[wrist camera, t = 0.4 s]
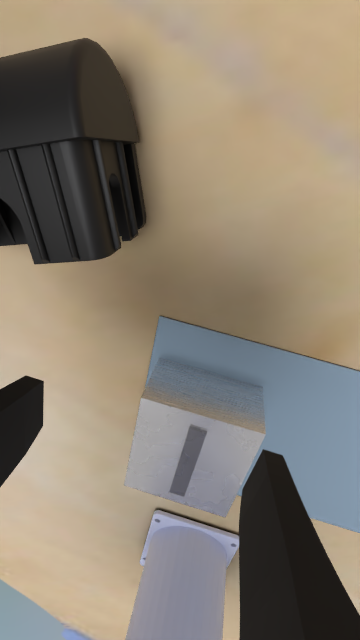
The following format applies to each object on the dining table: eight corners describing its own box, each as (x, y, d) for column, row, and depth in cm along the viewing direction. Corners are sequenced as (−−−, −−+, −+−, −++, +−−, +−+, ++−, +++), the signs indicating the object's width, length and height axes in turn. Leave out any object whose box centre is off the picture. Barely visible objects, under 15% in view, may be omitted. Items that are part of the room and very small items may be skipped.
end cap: (133, 65, 14) (53, 3, 8) (157, 226, 17) (110, 263, 12) (-50, 103, 17) (-215, 75, 11) (0, 240, 20) (-106, 277, 14)
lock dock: (398, 543, 25) (407, 566, 24) (131, 460, 27) (124, 477, 25) (528, 417, 18) (551, 439, 17) (159, 315, 20) (152, 328, 18)
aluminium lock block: (228, 465, 25) (225, 519, 21) (141, 439, 25) (123, 487, 21) (262, 387, 21) (266, 436, 17) (158, 357, 21) (140, 399, 18)
